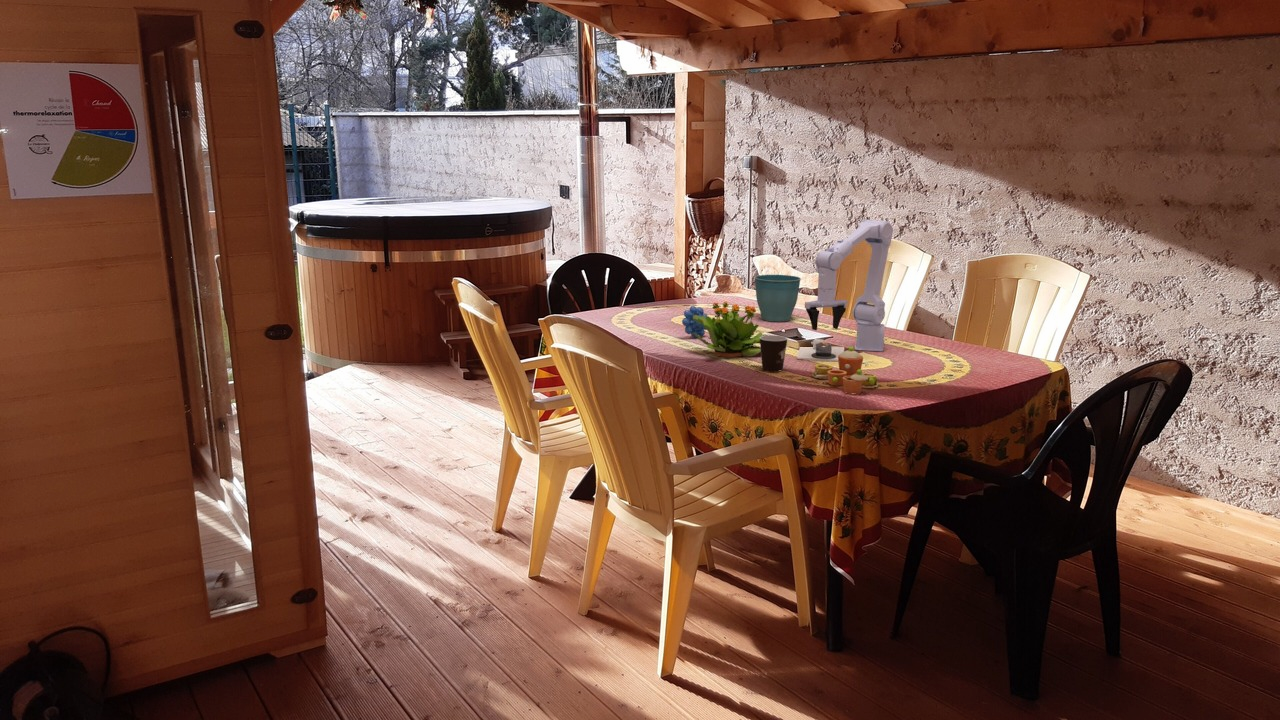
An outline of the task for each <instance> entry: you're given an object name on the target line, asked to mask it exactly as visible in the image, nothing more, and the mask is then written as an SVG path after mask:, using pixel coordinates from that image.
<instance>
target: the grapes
mask: <svg viewBox="0 0 1280 720" xmlns="http://www.w3.org/2000/svg"><path fill="white" fill-rule="evenodd" d="M704 312H705V311H704V308H703V307H700V306H698V307H696V306H695V305H691V306H690V307H689V310H688V309H686V310H684V311H683V316H684V318H683V319H682V320H681V322H682V323H681V324H682V325H683V326H684V332H685V333H686V334H687V335H690V336H691V337H692V338H693V339H697V338H698V337H696V336H695V334H697V335H698V336H699V337H704V336H705V334H706V332H705V331H707V329H706V328H705V327H704V326H703V325H702V324H700V323H699V322H696V321H694V320H693V319H694V318H693V315H697V316H698V317H700V316H704V317H705V318H706V316H708V314H707V313H704ZM692 332H693V333H692ZM694 333H695V334H694Z"/></svg>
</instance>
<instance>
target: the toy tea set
mask: <svg viewBox="0 0 1280 720" xmlns="http://www.w3.org/2000/svg"><path fill="white" fill-rule="evenodd" d="M838 361H839V362H838V369H833V366H832V365H829V364H823V363H822V364H820V363H815V364H814V371H813V370H812V369H810V371H811V372H812V375H811V376H812V377H813V378H815V379H818V378H819V380H827V383H828V385H829V384H831V385H830V386H833V385H843V392H844V393H845V392H847V393H859V394H861V391H862V389H868V388H870V389H875V388H874V387H876V388H878V387H879V384H878V380H879V379H878V377H877V375H876V374H875V373H869V372H863V370H862V367H863V365H862V364H863V361H864V357H863V356H862V355H861V354H860V353H859V352H858V351H857V350H854V347H853V346H849V347H848V350H844V352H843V353H841V354H840V355H839V356H838ZM847 393H846V394H847Z"/></svg>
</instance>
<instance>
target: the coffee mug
mask: <svg viewBox="0 0 1280 720" xmlns="http://www.w3.org/2000/svg"><path fill="white" fill-rule="evenodd" d="M766 335H767V336H761V337H760V344H759V345H760V346H759V347H761V352H760V358H761V367H762V368H761V369H762V370H763V371H765V370H766V372H771V371H776V372H780V371H779V370H782V369H784V365H785V364H784V363H785V357H786V350H787V344H788V338H787V337H786V336H783V335H775V334H774V335H772V334H770V335H768V334H766ZM782 371H783V370H782Z"/></svg>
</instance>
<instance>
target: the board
mask: <svg viewBox="0 0 1280 720" xmlns="http://www.w3.org/2000/svg"><path fill="white" fill-rule="evenodd" d="M820 342H823V343H827V342H826V340H825V339H821V338H818V339H817V338H816V339H815V338H814V339H813V340H812V341H811V342H810V344H811V345H813V347H800V346H799V348H798V352H797V355H796V360H797V359H804V360H803V361H816V360H817V361H820V362H838V363H839V361H838V356H839V355H840V354H841V353H843V352H844V351H845V346H832V351H831V356H829V357H820V356H816V355H815V351H816V344H817V343H820ZM817 361H816V362H817Z"/></svg>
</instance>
